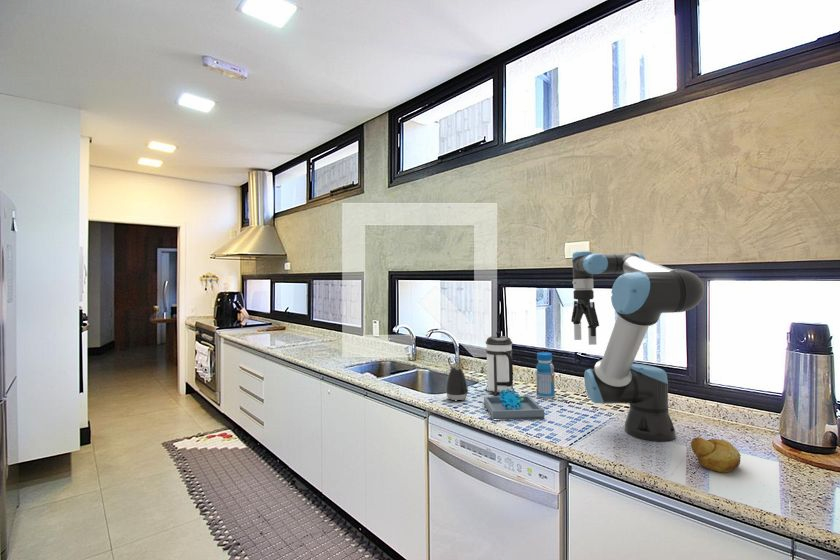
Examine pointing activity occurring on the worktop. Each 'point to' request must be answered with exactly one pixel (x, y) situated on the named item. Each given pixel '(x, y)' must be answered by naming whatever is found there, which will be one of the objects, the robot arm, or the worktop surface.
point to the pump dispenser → (456, 384)
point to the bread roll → (716, 454)
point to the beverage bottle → (545, 375)
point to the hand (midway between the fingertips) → (584, 342)
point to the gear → (510, 400)
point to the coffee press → (499, 363)
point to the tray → (525, 412)
